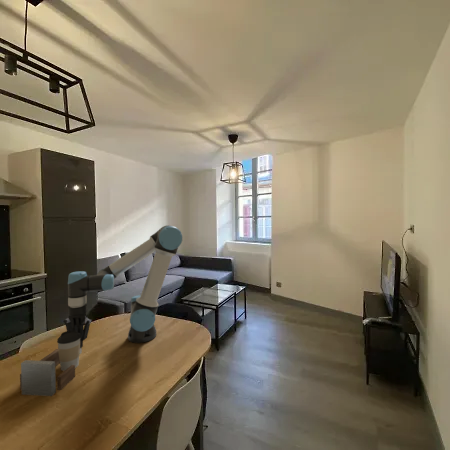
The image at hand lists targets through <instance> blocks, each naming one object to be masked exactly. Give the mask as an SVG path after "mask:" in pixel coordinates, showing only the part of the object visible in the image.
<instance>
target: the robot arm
mask: <svg viewBox="0 0 450 450" xmlns="http://www.w3.org/2000/svg"><path fill="white" fill-rule="evenodd" d="M182 242H183V233H182V232H181V230H180V228H178V227H176V226H174V225H170V224H169V225H164V226H162V227H161V228H159V229H158V230H157V231H156V232H154V233H153V234H152V235H150V236H149V238H148V239H147V240H146V241H144V242H143V243H141V244H140V245H138V246H136V247H134V248H133V249H132V250H130V251H129V252H127V253H126V254H124V255H123V256H121V257H120V258H118V259H117V260H115V261H114V262H112V263H111V264H109V265H108V266H105V267H104V268H102V269H100V270H99V271H98V272H97V274H95V275H88V274H87V271H83V270H82V271H79V270H78V271H73V272H71V273H69V274H68V280H67V295H68V296H67V297H68V298H67V305H68V308H67V309H68V310H67V311H68V312H67V313H68V317H67V318H66V319H64V320H63V323H64V326H65V328H66V332H69V331H77V332H78V333H80V335H81V338H80V355H81V354H82V348H83V347H84V341H85V340H87V339H88V335H89V332H90V326H91V323H92V322H93V319H92V318H91V319H90V318H88V315H87V313H88V305H87V303H88V302H87V301H88V300H87V298H88V296H87V293H88V292H89V293H90V292H102V291H104V292H105V291H113V289H114V287H115V279H116V278H118V277H119V276H121V275H122V274H124V273H125V272H126V271H128V270H130V269H131V268H133V267H134V266H135V265H137V264H138V263H140V262H142V261H143V260H144V259H147V258H148V257H149V256H150V255H152V254H154V253H155V254H154V257H153V259H152V261H151V262H152V263H151V266H150V268H149V271H148V274H147V277H146V279H145V282H144V285H143V288H142V291H141V293H140V294H138V295H134V296H132V297H131V299H130V317H129V323H130V327H129V331H128V333H127V339H128V341H129V342H131V343H133V344H134V343H135V344H141V343H142V344H143V343H146V342H149V341H152V340H153V339H155V338H156V337H157V329H156V326H155V322H156V314H157V312H158V309H159V305H160V304H159V302H158V299H159V296H160V293H161V290H162V287H163V285H164V281H165V278H166V275H167V272H168V269H169V267H170V264H171V260H172V258H173V257H174V256H176V255H177V253H178V249H179V248H180V246H181V244H182Z"/></svg>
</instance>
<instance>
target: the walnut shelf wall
mask: <svg viewBox="0 0 450 450" xmlns="http://www.w3.org/2000/svg"><path fill="white" fill-rule="evenodd" d="M39 361H55V367H56V366H58V365H60V360H59V352H58V348H55V350H53V351H51V352H50V353H48V354H47V355H46V356H44V357H43V358H42V359H40V360H39ZM74 378H76V368H75V365H71V366H70V367H68V368H67V369H66V370H65V371H62V372H61V373H60V374H59V375H58V376H57V378H56V382H57V383H56V384H57V388H56V389H57V391H62V390H63V389H64V388H65V387H66V386H67V385H68V384H69V383H70V382H71V381H73V379H74ZM19 388H20V390H21V391H22V382H21V373H20V374H19Z"/></svg>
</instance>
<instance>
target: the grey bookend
mask: <svg viewBox="0 0 450 450" xmlns="http://www.w3.org/2000/svg"><path fill="white" fill-rule="evenodd" d="M20 374H21V382H22V390H21V395H25V396H26V395H27V396H39V397H40V396H42V397H53V396H54V395H55V393H56V392H57V391H56V389H57V388H56V384H57V383H56V382H57V380H56V366H55V361H40V360H31V359H30V360H29V359H28V360H27V359H26V360H24V361H22V362H20Z"/></svg>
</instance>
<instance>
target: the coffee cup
mask: <svg viewBox="0 0 450 450" xmlns="http://www.w3.org/2000/svg"><path fill="white" fill-rule="evenodd" d="M80 338H81V335H80V333H78V332H77V331H69V332H67V331H63V332H62V333H61V334H60V336H59V337H58V338H57V349H58V352H59V360H60V363H59V367H60V371H62V372H64V371H65V370H66V369H67V368H68V367H70V366H71V365H75V369H76V368H77V367H79V365H80V364H79V363H80V355H81V354H80Z"/></svg>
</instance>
